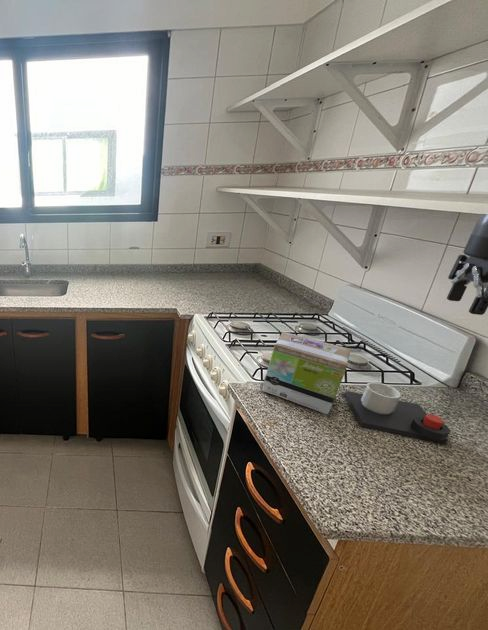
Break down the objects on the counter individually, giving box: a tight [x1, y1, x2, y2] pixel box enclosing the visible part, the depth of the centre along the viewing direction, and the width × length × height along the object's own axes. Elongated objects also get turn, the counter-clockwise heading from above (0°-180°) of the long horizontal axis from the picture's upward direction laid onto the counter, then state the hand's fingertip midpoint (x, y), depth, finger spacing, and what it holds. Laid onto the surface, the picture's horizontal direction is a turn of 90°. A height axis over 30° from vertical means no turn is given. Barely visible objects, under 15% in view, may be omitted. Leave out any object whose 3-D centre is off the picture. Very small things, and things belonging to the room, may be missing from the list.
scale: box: [343, 390, 451, 445], centre depth 82 cm, size 15×14×3 cm
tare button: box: [422, 413, 445, 430], centre depth 76 cm, size 3×3×2 cm
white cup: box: [361, 381, 402, 414], centre depth 83 cm, size 6×6×5 cm
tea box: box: [261, 331, 351, 415], centre depth 88 cm, size 15×10×15 cm, turn 50°
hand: (463, 306), depth 77 cm, fingers open, 8 cm apart
